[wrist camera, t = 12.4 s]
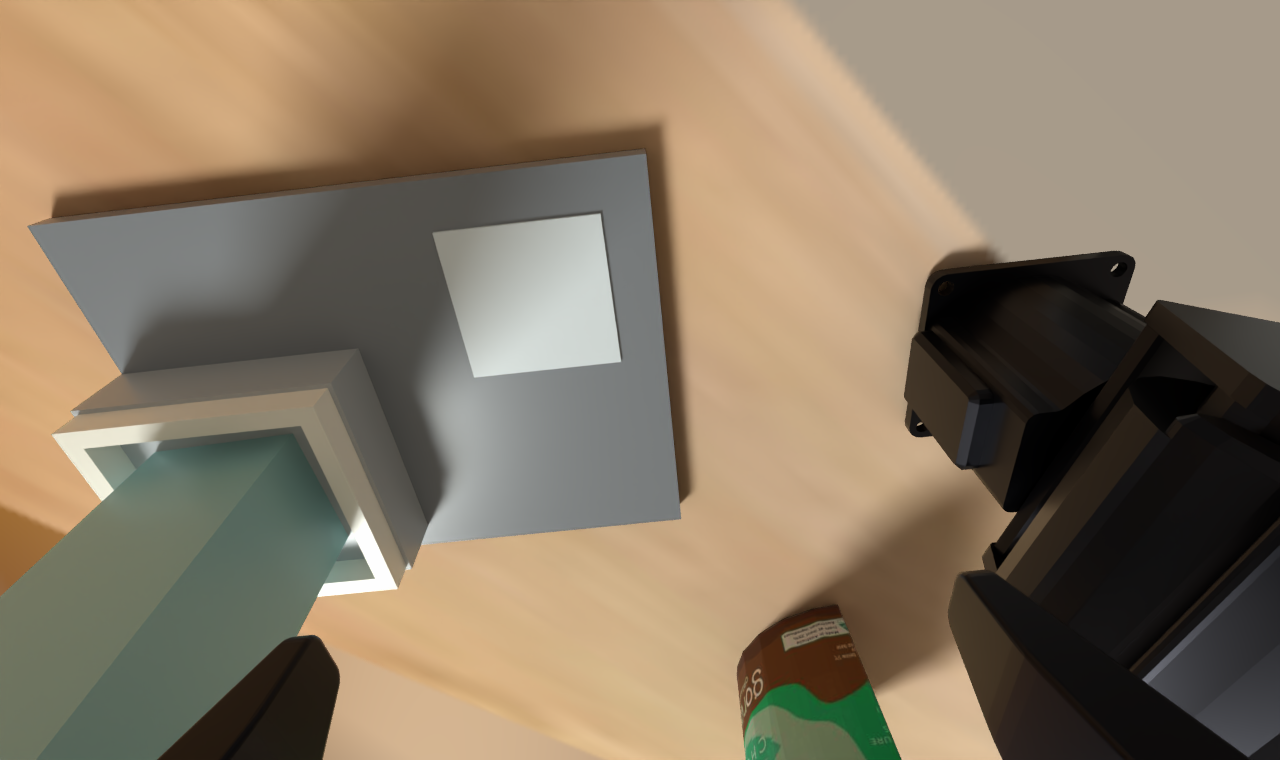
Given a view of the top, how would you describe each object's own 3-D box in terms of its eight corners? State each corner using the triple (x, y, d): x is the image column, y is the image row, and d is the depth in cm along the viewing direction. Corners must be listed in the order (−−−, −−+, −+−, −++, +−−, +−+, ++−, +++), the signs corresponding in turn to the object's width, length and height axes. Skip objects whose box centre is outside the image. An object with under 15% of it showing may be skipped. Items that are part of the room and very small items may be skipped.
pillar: (293, 433, 19) (-266, 1142, 7) (348, 536, 21) (2, 1198, 9) (155, 452, 19) (-616, 1171, 7) (225, 552, 21) (-268, 1220, 9)
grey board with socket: (645, 148, 18) (651, 180, 14) (679, 505, 25) (689, 583, 21) (49, 218, 18) (-84, 265, 15) (252, 547, 25) (195, 630, 22)
